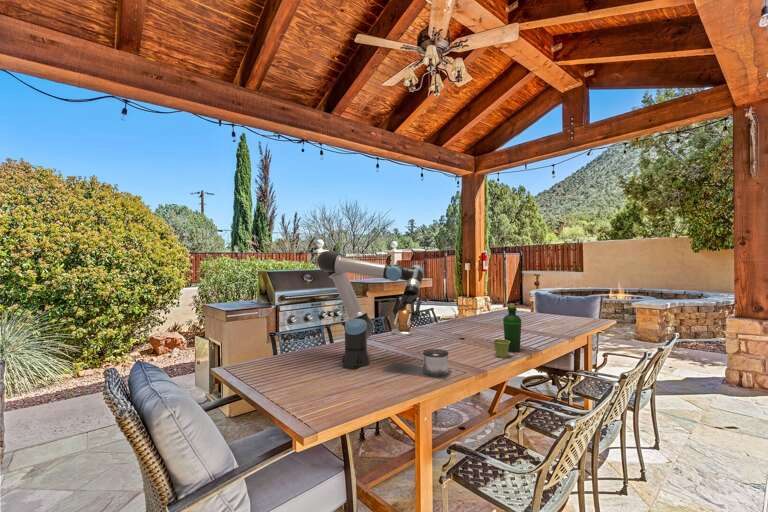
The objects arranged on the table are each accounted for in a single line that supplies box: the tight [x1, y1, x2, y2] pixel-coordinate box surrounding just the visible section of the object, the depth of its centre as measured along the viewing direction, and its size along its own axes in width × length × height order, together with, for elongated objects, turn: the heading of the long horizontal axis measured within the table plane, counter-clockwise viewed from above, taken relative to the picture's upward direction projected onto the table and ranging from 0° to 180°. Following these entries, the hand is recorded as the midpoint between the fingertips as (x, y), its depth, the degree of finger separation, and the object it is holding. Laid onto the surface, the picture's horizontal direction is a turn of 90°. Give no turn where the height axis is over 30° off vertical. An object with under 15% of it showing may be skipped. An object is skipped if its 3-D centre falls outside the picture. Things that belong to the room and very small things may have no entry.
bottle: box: [502, 303, 522, 353], centre depth 210 cm, size 11×11×28 cm
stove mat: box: [381, 362, 453, 381], centre depth 172 cm, size 32×14×1 cm, turn 67°
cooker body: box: [422, 348, 449, 378], centre depth 168 cm, size 12×12×10 cm
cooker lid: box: [391, 309, 418, 337], centre depth 174 cm, size 13×13×11 cm
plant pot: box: [492, 338, 510, 359], centre depth 199 cm, size 9×9×9 cm
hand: (401, 325), depth 171 cm, fingers closed on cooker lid, 6 cm apart
